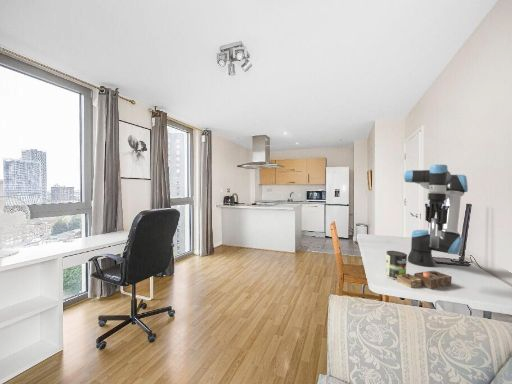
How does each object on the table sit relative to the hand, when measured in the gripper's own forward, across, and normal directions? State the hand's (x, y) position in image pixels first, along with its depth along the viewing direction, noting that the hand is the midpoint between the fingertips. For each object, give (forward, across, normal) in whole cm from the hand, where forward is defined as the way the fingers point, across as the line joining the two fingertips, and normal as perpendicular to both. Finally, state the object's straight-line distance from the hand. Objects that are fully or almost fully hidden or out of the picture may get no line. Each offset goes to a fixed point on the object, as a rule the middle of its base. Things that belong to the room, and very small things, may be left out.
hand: (434, 235), depth 125 cm
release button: (+26, +2, -5) cm, 26 cm away
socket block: (+27, +1, 0) cm, 27 cm away
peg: (+7, 0, 0) cm, 7 cm away
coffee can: (+27, -9, -15) cm, 32 cm away
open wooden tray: (+27, 0, -14) cm, 30 cm away
